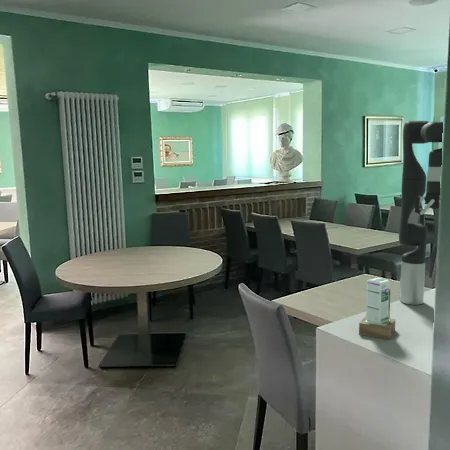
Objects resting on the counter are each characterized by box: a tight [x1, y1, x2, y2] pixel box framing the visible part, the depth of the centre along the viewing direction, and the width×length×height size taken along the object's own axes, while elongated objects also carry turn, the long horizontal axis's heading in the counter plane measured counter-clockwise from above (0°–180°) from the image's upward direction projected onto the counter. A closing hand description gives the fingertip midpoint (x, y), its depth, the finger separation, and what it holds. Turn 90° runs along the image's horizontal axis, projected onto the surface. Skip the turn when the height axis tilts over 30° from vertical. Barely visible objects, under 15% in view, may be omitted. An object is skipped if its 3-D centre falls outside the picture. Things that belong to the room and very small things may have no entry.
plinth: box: [358, 315, 396, 340], centre depth 161 cm, size 10×10×4 cm
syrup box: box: [365, 277, 391, 324], centre depth 160 cm, size 6×6×14 cm
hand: (436, 225), depth 164 cm, fingers open, 8 cm apart
